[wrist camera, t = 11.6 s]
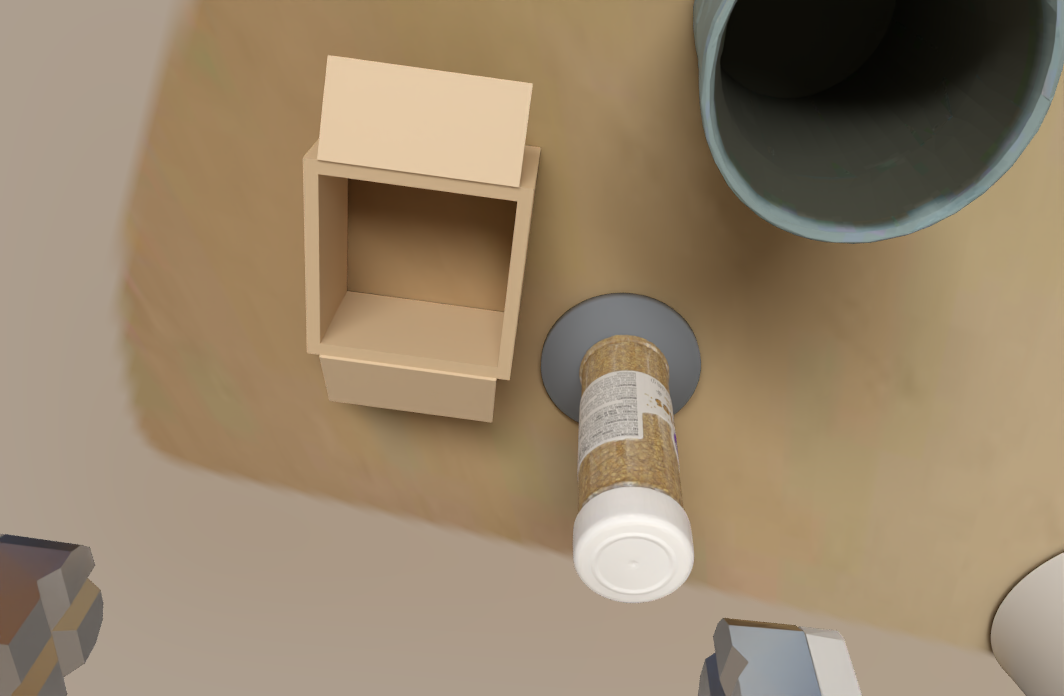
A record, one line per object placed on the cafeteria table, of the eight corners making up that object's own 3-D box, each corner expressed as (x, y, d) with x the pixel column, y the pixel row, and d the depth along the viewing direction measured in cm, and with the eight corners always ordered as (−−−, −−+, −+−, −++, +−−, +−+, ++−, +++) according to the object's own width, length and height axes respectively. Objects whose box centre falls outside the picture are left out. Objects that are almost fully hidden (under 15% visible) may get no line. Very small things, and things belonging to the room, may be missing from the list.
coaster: (715, 304, 42) (717, 310, 42) (681, 434, 46) (682, 441, 46) (552, 282, 42) (552, 288, 42) (532, 414, 46) (532, 421, 46)
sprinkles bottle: (678, 393, 44) (708, 596, 33) (593, 414, 45) (593, 618, 34) (654, 319, 42) (677, 508, 31) (565, 343, 43) (555, 535, 32)
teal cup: (771, 172, 39) (834, 303, 28) (617, 0, 35) (625, 78, 25) (980, 2, 34) (1141, 83, 24) (827, -211, 31) (940, -221, 21)
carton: (551, 63, 37) (545, 97, 32) (510, 384, 45) (501, 445, 41) (335, 33, 37) (299, 64, 32) (335, 361, 45) (307, 419, 41)
